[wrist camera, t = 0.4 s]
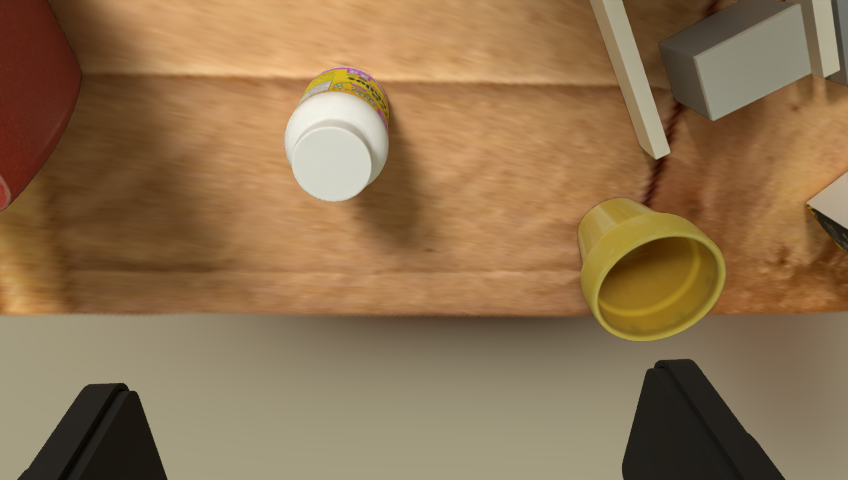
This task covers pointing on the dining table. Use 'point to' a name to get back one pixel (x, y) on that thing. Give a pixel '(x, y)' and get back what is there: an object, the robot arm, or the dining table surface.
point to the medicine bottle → (833, 210)
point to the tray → (841, 40)
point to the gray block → (736, 56)
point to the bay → (635, 81)
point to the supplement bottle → (338, 134)
